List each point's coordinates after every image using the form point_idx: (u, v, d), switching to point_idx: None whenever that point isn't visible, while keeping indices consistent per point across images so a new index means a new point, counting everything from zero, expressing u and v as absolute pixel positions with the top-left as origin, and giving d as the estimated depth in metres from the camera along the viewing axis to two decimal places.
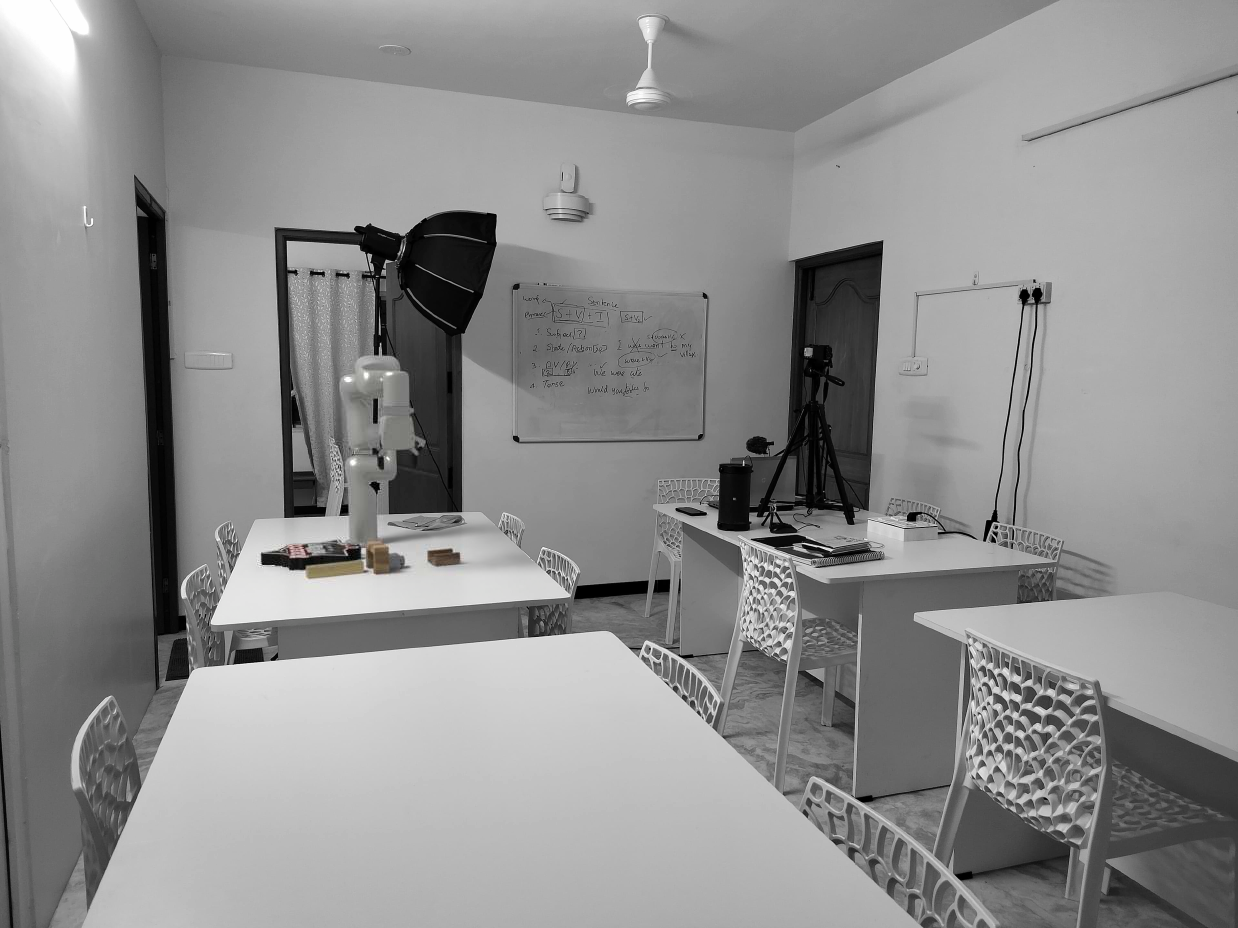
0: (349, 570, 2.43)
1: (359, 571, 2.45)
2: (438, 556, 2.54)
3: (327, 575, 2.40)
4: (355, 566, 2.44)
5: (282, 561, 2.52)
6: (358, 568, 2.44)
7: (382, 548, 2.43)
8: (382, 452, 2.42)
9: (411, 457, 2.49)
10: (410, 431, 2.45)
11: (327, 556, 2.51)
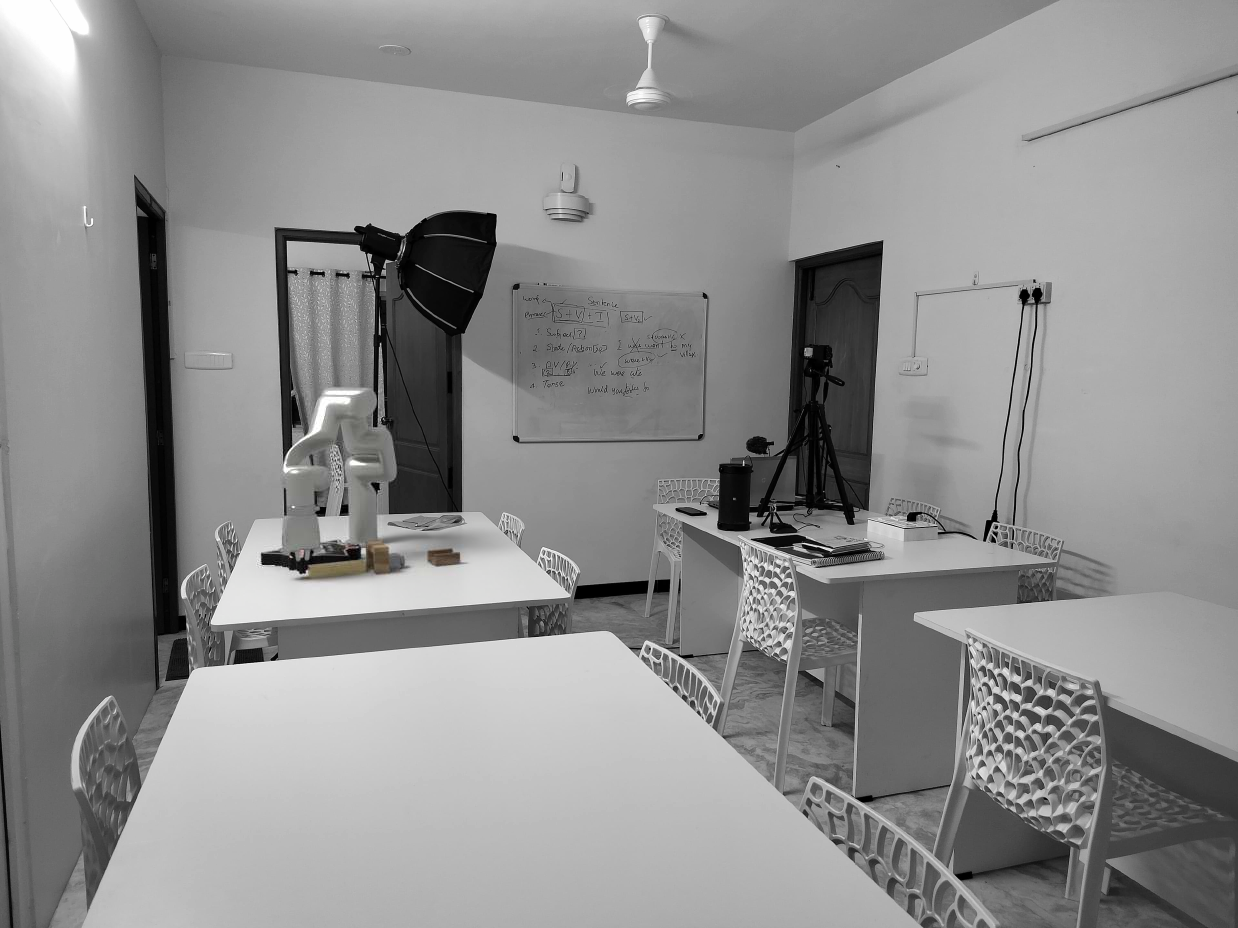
0: (351, 569, 2.43)
1: (361, 570, 2.45)
2: (438, 556, 2.54)
3: (329, 574, 2.40)
4: (357, 565, 2.44)
5: (282, 561, 2.52)
6: (360, 567, 2.45)
7: (382, 548, 2.43)
8: (298, 555, 2.35)
9: None
10: (315, 530, 2.36)
11: (327, 556, 2.51)
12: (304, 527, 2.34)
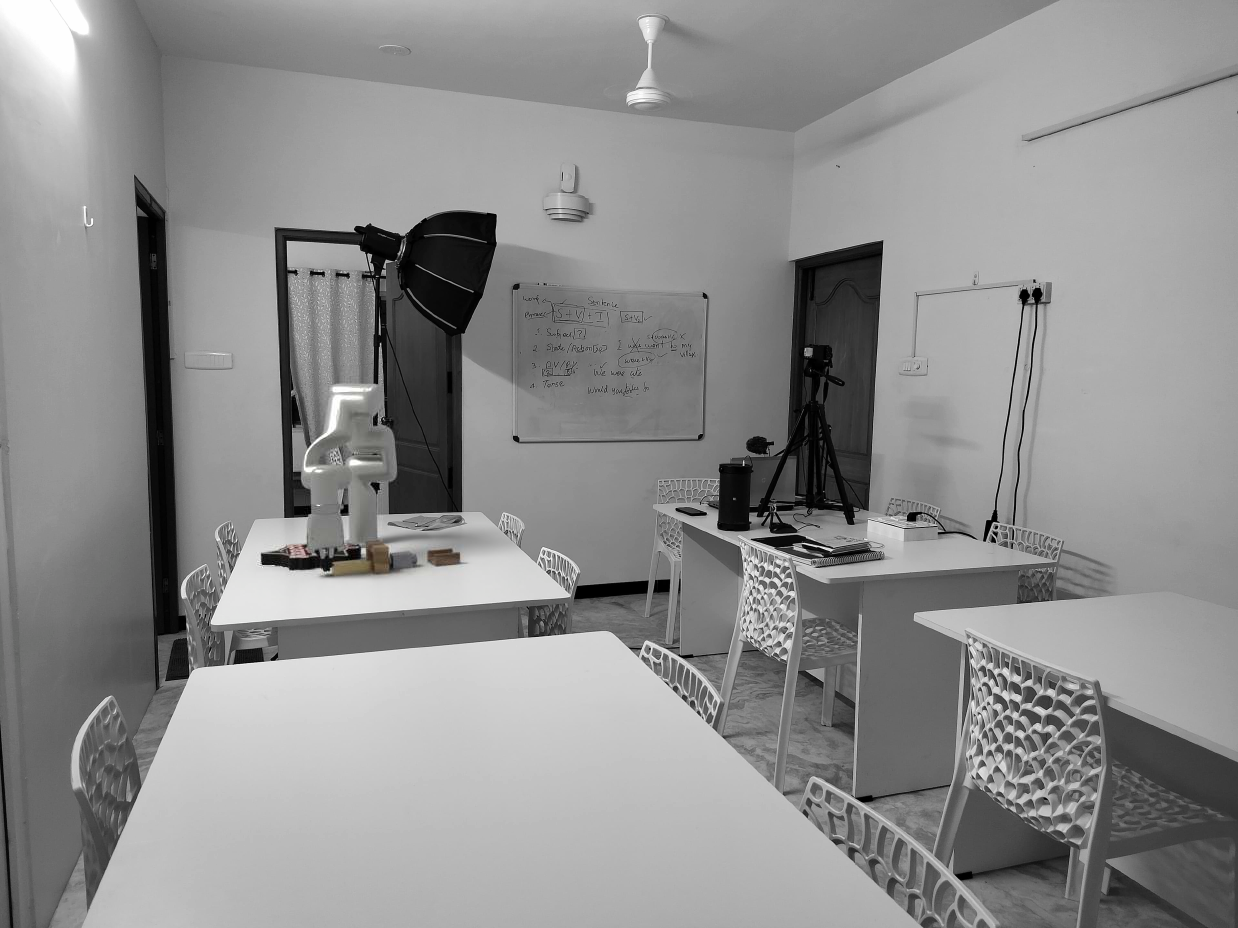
0: None
1: None
2: (438, 556, 2.54)
3: (352, 571, 2.44)
4: None
5: (282, 561, 2.52)
6: None
7: (382, 548, 2.43)
8: (322, 553, 2.39)
9: None
10: (339, 528, 2.40)
11: None
12: (328, 525, 2.38)
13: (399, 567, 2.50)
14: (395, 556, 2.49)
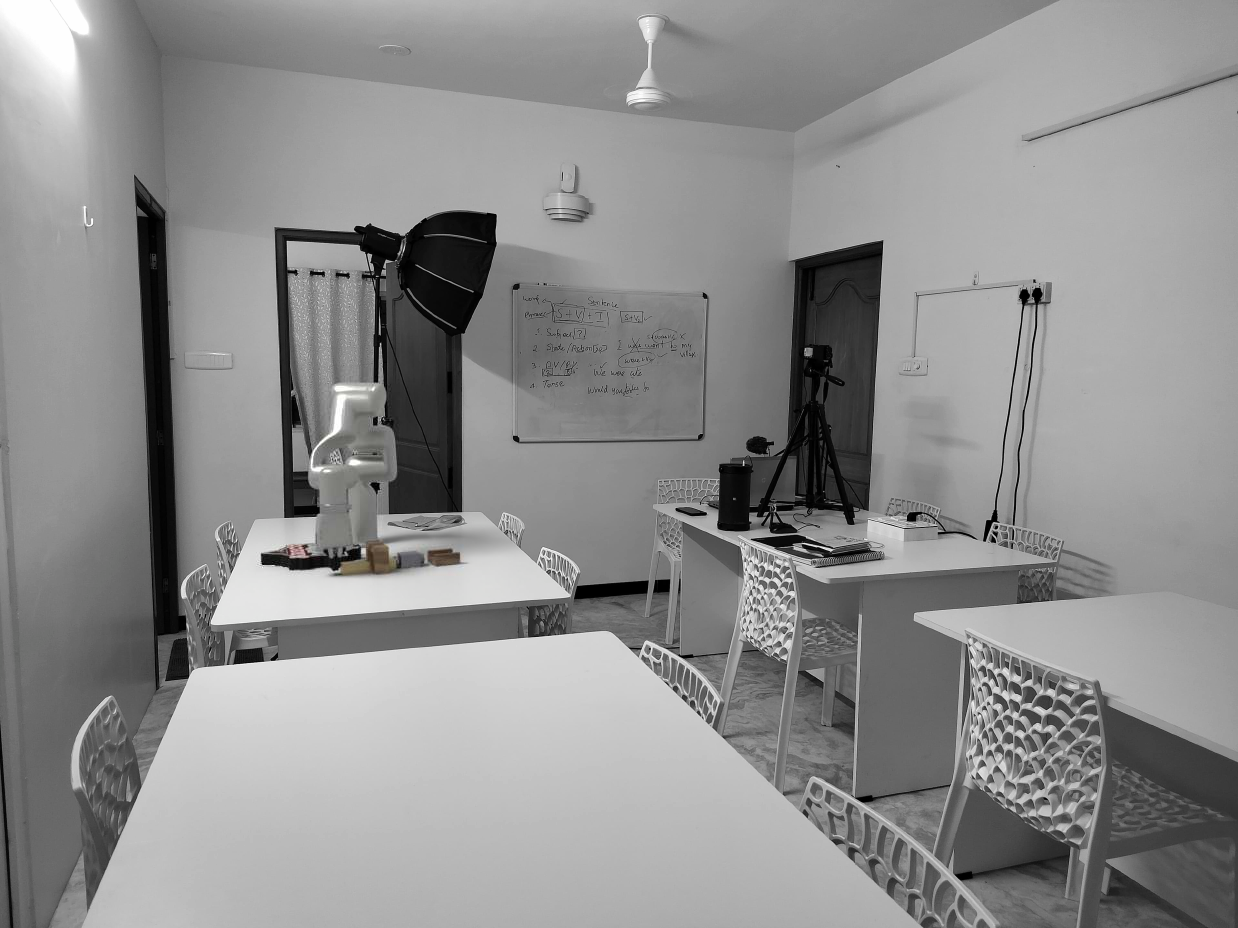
0: None
1: (392, 568, 2.50)
2: (438, 556, 2.54)
3: (361, 571, 2.45)
4: None
5: (282, 561, 2.52)
6: (391, 565, 2.49)
7: (382, 548, 2.43)
8: (331, 552, 2.40)
9: None
10: (348, 528, 2.41)
11: (327, 556, 2.51)
12: (337, 525, 2.39)
13: (407, 566, 2.52)
14: (403, 556, 2.51)
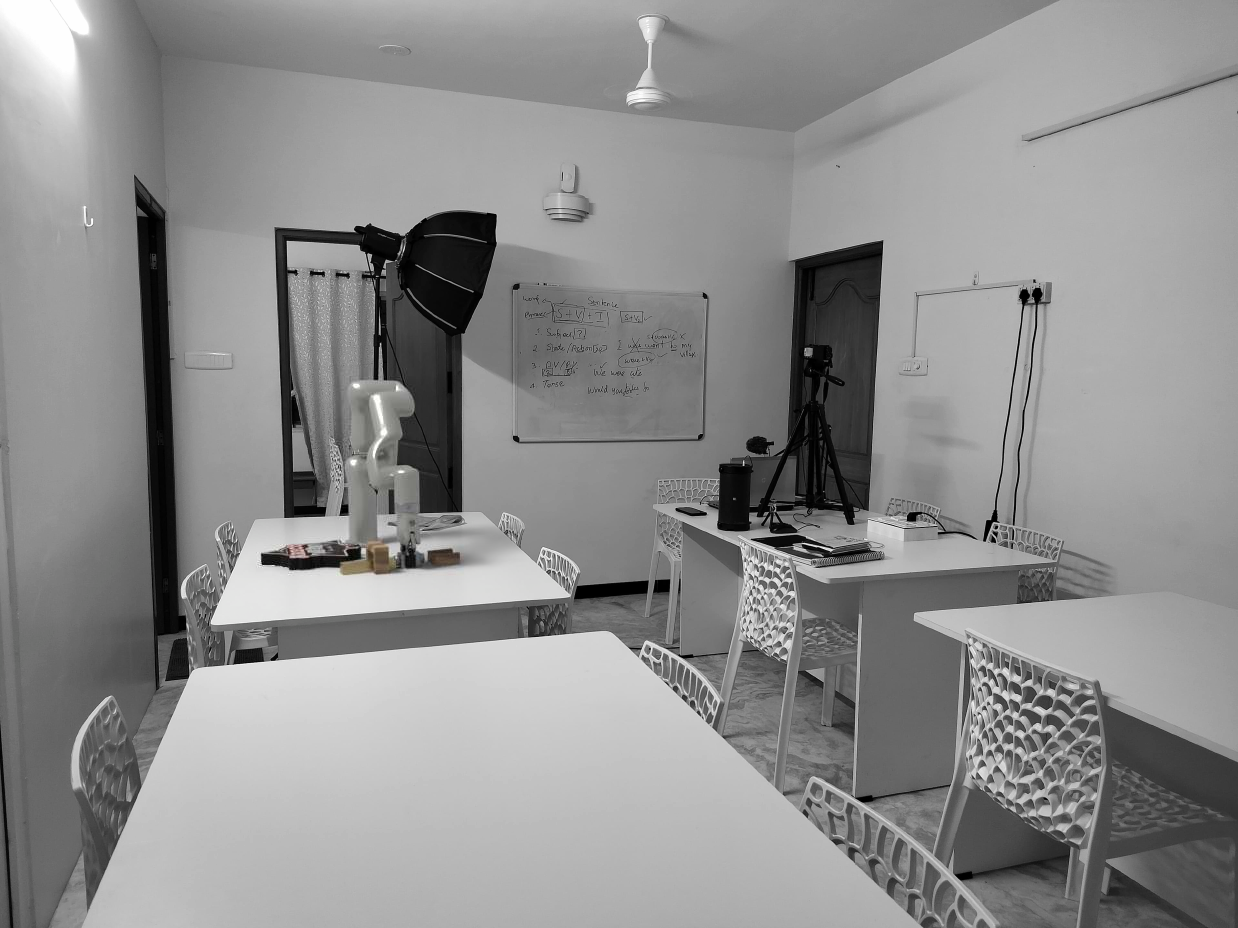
0: None
1: (391, 567, 2.50)
2: (438, 556, 2.54)
3: (361, 571, 2.45)
4: None
5: (282, 561, 2.52)
6: (390, 564, 2.49)
7: (382, 548, 2.43)
8: (400, 547, 2.55)
9: None
10: (403, 528, 2.48)
11: (327, 556, 2.51)
12: (399, 523, 2.51)
13: None
14: (403, 555, 2.51)
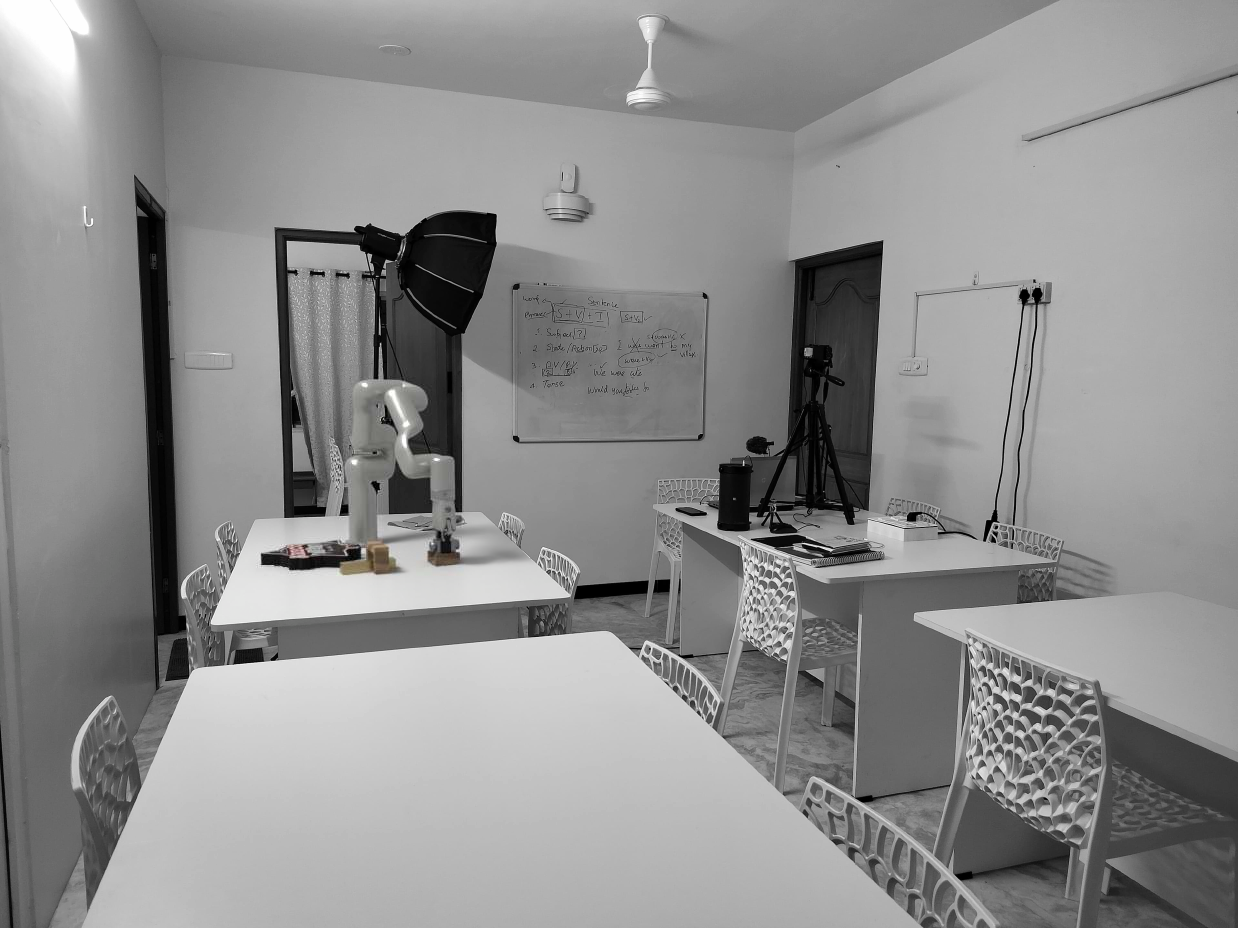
0: None
1: (391, 568, 2.50)
2: (438, 556, 2.54)
3: (360, 571, 2.45)
4: None
5: (282, 561, 2.52)
6: (390, 564, 2.49)
7: (382, 548, 2.43)
8: (436, 533, 2.61)
9: None
10: (439, 514, 2.54)
11: (327, 556, 2.51)
12: (435, 509, 2.56)
13: None
14: (439, 541, 2.56)
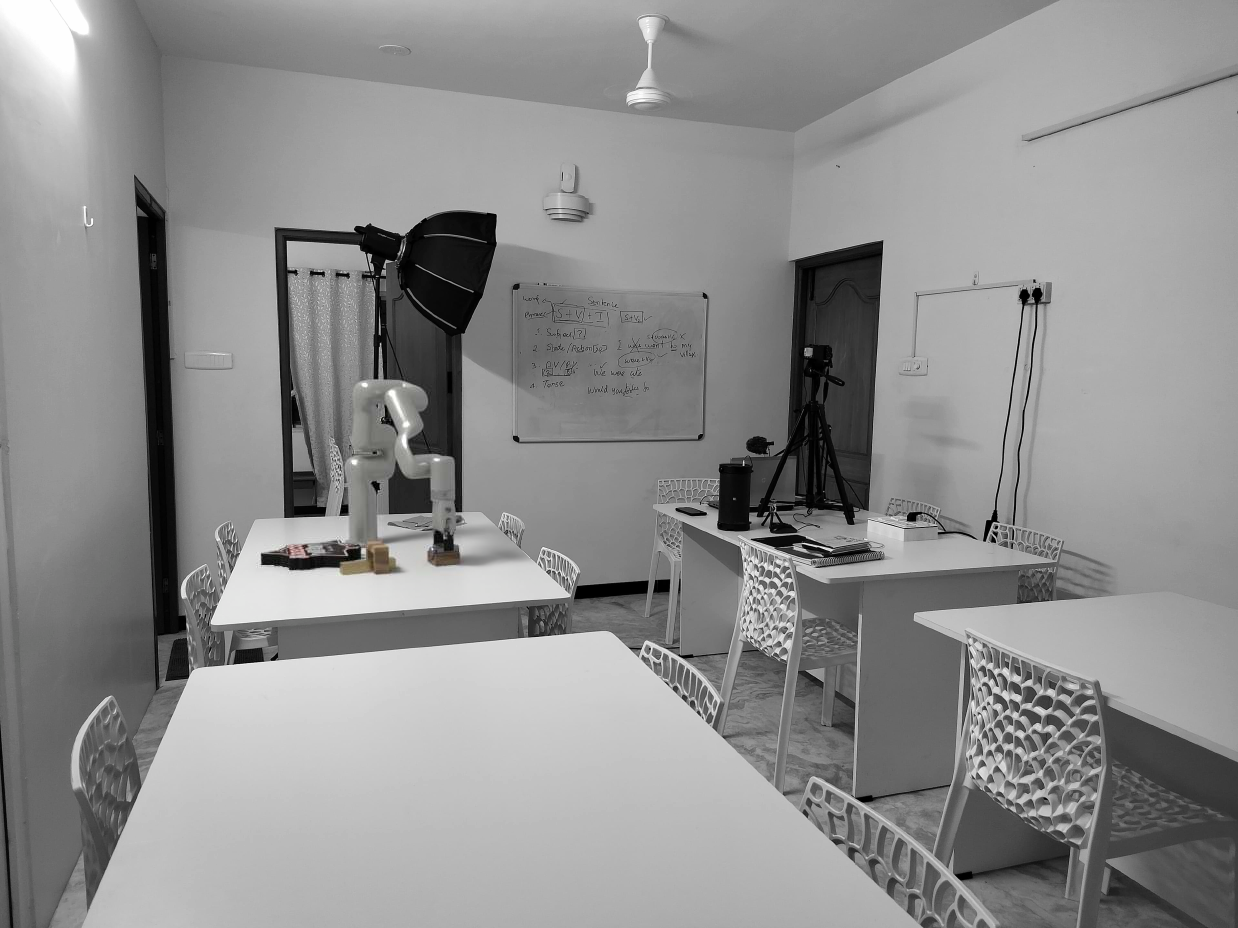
0: None
1: (391, 568, 2.50)
2: (438, 556, 2.54)
3: (360, 571, 2.45)
4: None
5: (282, 561, 2.52)
6: (390, 565, 2.49)
7: (382, 548, 2.43)
8: (434, 530, 2.62)
9: None
10: (440, 514, 2.54)
11: (327, 556, 2.51)
12: (435, 510, 2.56)
13: None
14: (439, 547, 2.56)
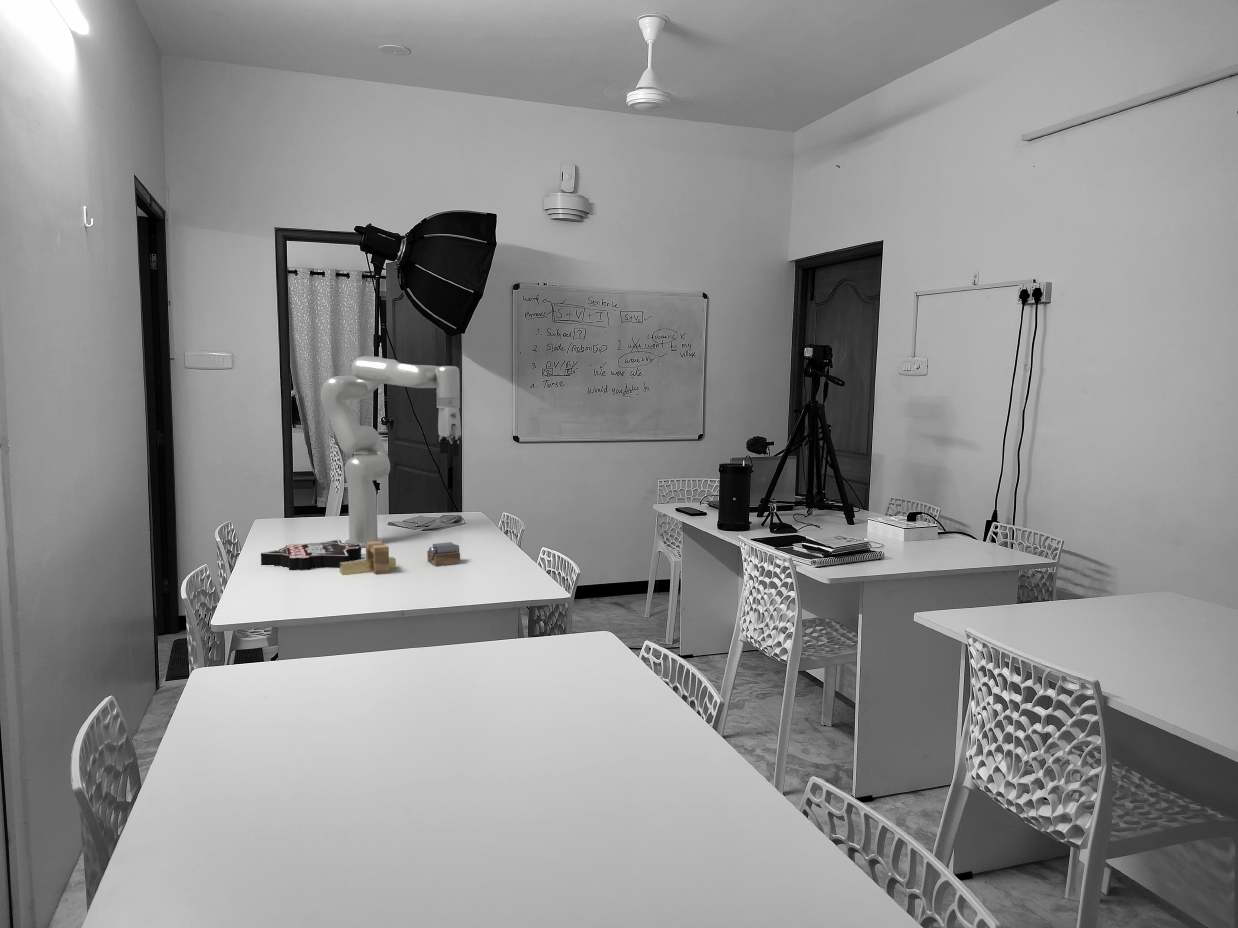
0: None
1: (391, 568, 2.50)
2: (438, 556, 2.54)
3: (360, 571, 2.45)
4: None
5: (282, 561, 2.52)
6: (390, 564, 2.49)
7: (382, 548, 2.43)
8: (440, 438, 2.75)
9: None
10: (445, 420, 2.67)
11: (327, 556, 2.51)
12: (441, 417, 2.69)
13: None
14: (439, 547, 2.56)
